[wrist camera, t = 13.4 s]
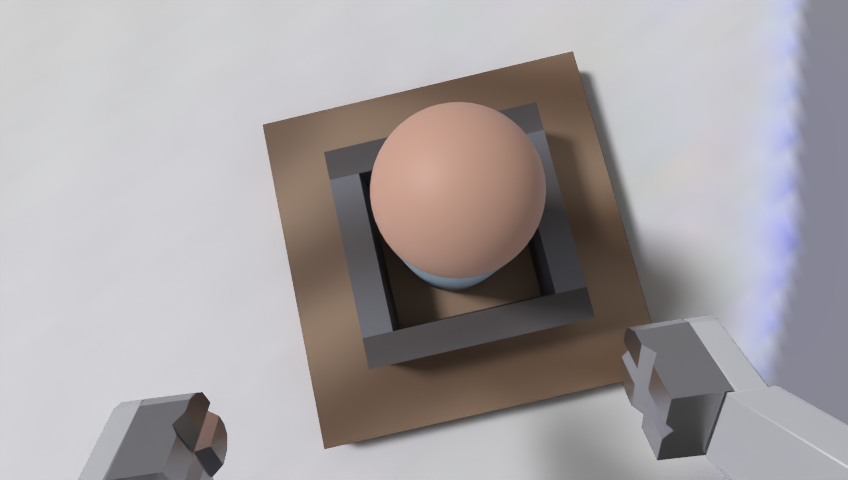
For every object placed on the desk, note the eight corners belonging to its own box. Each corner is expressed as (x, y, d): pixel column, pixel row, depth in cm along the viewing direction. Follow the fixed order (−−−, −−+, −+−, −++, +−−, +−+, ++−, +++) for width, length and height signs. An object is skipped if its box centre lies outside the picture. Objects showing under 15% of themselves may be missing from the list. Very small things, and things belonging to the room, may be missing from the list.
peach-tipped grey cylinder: (511, 279, 22) (588, 246, 10) (415, 300, 22) (378, 293, 10) (488, 184, 23) (535, 49, 11) (394, 206, 23) (337, 94, 11)
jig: (651, 367, 23) (700, 381, 19) (332, 439, 23) (305, 471, 19) (565, 66, 25) (590, 14, 21) (273, 135, 25) (236, 99, 21)
